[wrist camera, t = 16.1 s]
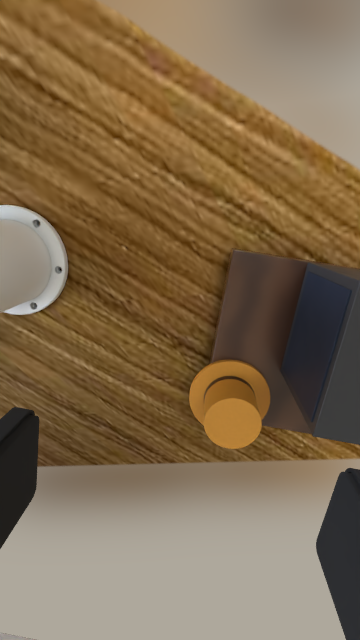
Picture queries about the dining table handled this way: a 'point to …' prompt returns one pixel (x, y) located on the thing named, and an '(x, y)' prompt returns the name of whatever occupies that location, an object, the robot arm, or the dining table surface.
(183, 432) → the dining table surface
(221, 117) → the dining table surface
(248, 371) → the hat
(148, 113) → the dining table surface
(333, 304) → the dark grey block
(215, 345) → the brown flat slab
